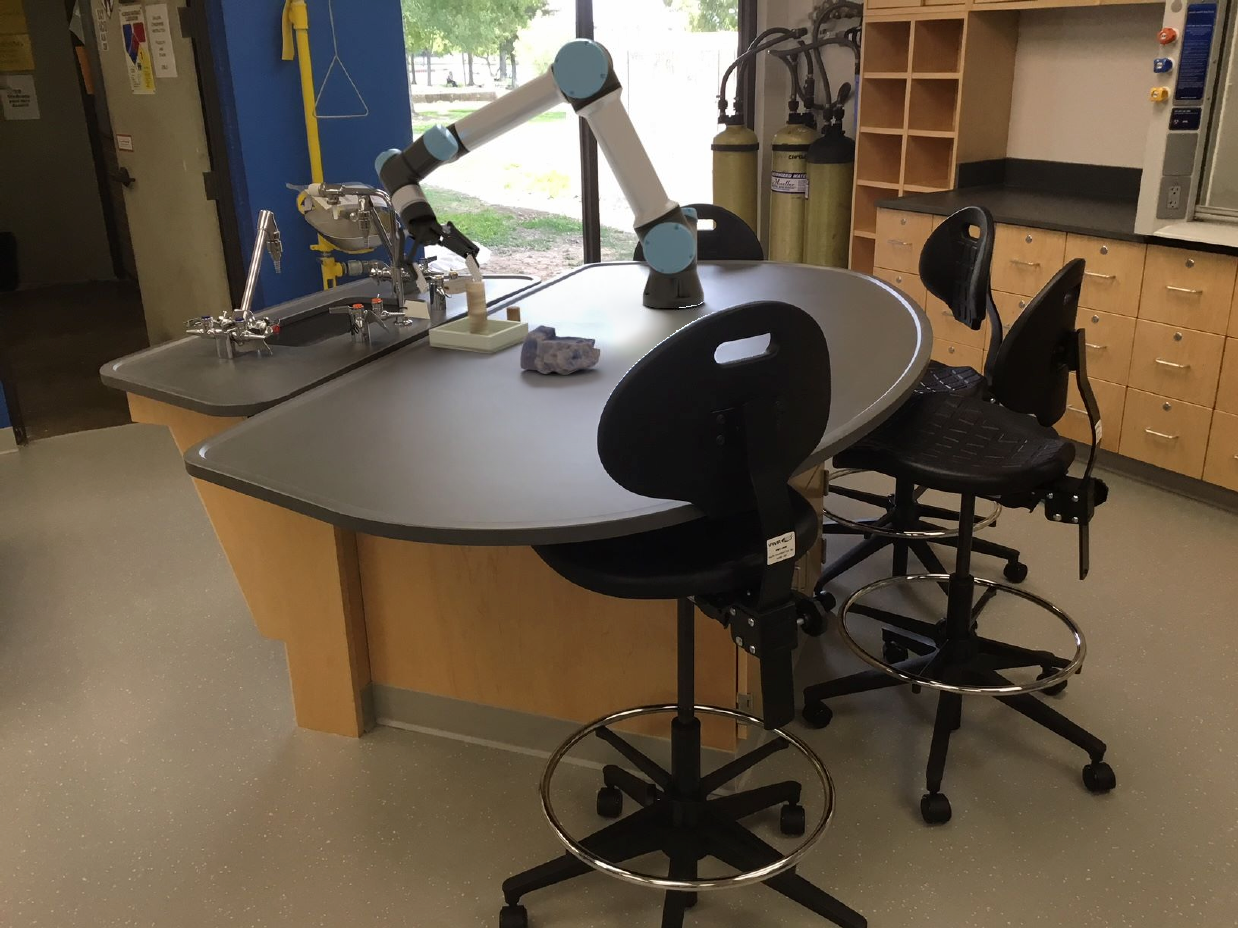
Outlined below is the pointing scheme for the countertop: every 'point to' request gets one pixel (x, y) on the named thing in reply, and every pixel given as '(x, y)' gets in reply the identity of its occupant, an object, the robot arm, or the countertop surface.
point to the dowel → (477, 308)
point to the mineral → (557, 352)
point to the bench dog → (513, 313)
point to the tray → (461, 339)
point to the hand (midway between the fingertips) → (453, 286)
